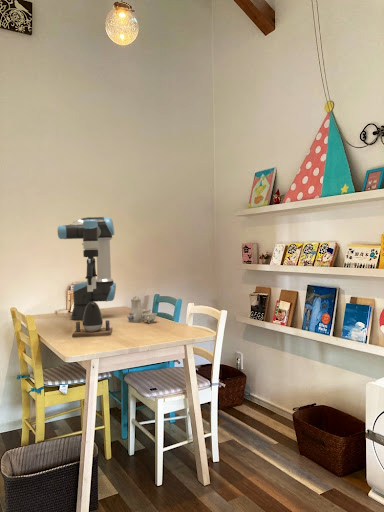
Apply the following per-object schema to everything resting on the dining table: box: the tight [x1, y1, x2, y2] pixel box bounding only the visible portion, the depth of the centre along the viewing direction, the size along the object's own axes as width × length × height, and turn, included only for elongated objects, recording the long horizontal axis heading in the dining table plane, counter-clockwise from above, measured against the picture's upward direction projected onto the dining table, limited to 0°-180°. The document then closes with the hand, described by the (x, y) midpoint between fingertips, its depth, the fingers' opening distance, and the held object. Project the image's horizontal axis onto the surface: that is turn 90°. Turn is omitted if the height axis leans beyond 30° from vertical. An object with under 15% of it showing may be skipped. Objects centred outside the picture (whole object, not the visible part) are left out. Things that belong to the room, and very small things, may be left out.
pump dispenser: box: [82, 302, 104, 332], centre depth 209 cm, size 10×10×15 cm
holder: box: [71, 319, 113, 338], centre depth 209 cm, size 13×19×6 cm
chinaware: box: [127, 294, 158, 324], centre depth 245 cm, size 28×17×17 cm, turn 24°
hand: (91, 290), depth 209 cm, fingers open, 13 cm apart
